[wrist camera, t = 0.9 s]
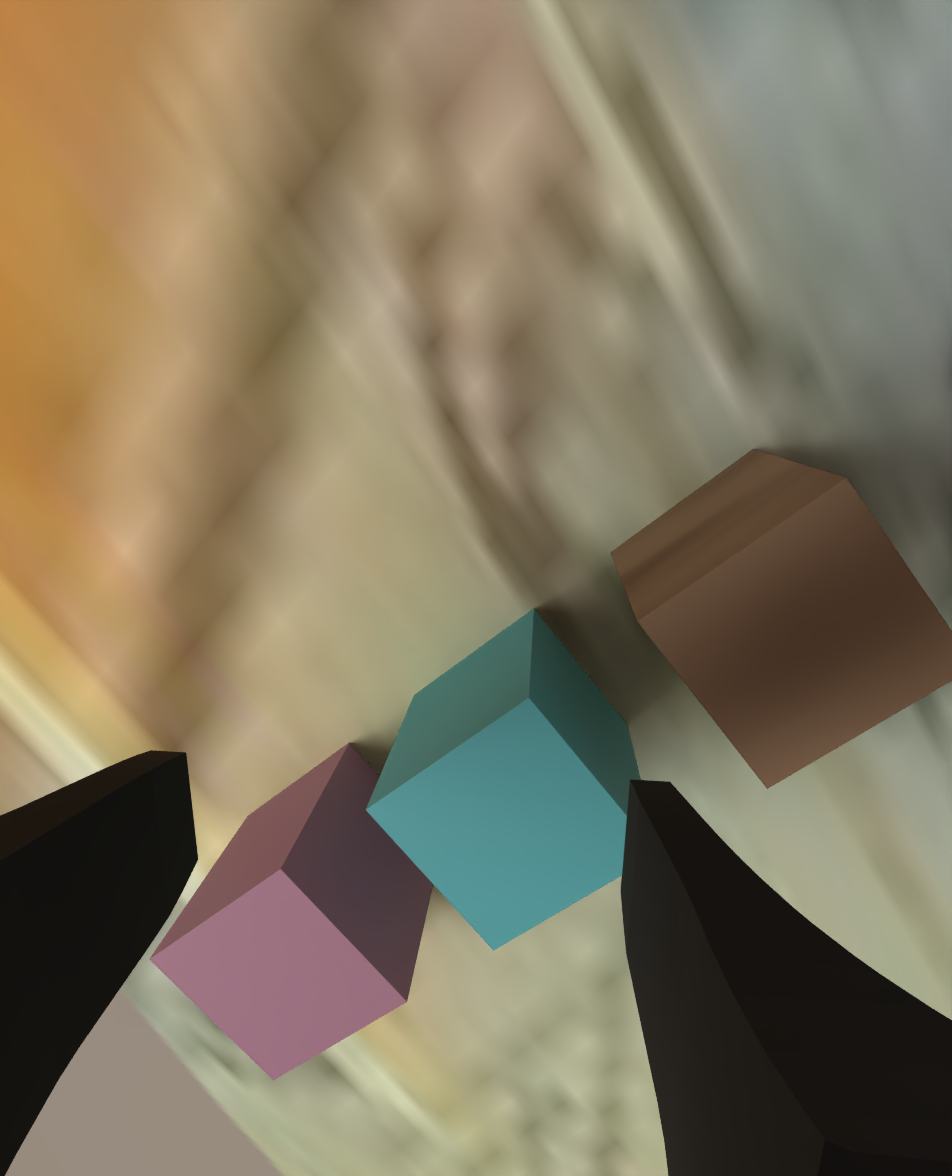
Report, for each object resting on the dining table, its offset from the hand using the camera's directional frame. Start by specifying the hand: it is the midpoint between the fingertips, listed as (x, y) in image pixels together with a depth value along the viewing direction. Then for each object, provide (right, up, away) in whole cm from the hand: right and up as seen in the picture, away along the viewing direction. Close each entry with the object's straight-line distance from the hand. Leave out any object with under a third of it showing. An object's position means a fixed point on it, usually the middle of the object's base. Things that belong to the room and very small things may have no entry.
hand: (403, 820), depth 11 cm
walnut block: (+8, +4, +8) cm, 12 cm away
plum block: (-3, -4, +11) cm, 13 cm away
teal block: (+2, 0, +10) cm, 10 cm away
